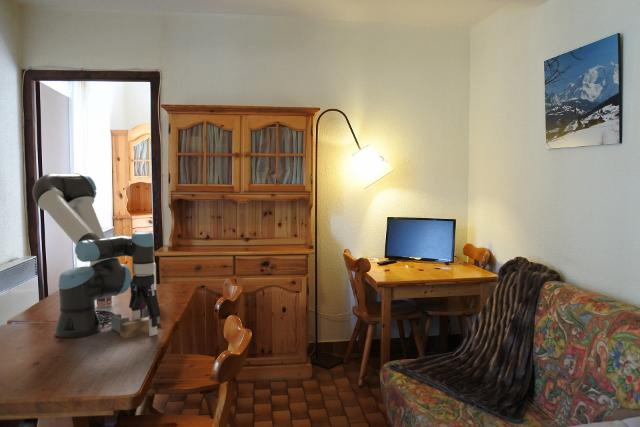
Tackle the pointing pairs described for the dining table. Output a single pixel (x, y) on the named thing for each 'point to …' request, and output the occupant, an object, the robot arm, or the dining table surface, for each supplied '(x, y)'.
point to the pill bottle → (104, 302)
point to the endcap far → (146, 314)
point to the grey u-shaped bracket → (117, 322)
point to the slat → (134, 327)
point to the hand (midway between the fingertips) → (144, 331)
